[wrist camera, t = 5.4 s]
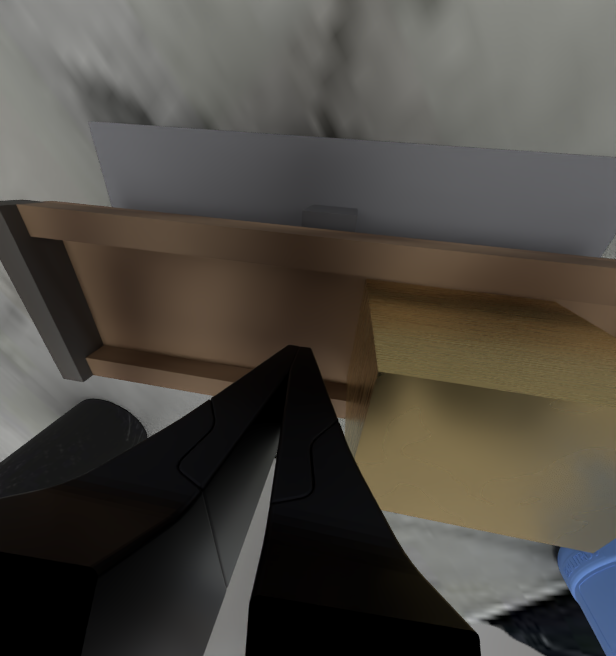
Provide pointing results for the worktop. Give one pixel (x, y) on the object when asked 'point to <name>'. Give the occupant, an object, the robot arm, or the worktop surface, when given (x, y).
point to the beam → (241, 289)
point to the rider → (485, 413)
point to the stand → (365, 186)
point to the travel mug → (70, 447)
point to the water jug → (594, 588)
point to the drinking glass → (241, 585)
